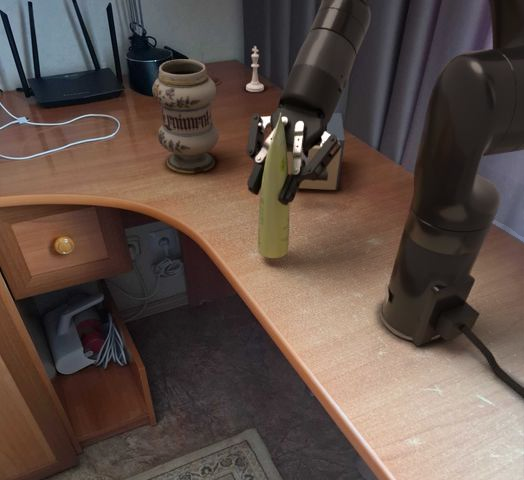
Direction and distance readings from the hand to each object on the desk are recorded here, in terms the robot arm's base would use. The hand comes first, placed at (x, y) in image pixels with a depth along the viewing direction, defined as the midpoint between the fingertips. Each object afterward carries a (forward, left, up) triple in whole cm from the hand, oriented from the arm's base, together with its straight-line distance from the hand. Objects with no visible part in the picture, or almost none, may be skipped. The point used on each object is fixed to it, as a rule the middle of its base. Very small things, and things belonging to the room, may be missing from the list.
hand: (267, 197), depth 66 cm
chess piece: (+72, -33, -12) cm, 80 cm away
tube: (+1, -2, -10) cm, 10 cm away
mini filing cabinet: (+24, -22, -12) cm, 34 cm away
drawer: (+20, -19, -11) cm, 30 cm away
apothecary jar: (+38, -2, -12) cm, 40 cm away
